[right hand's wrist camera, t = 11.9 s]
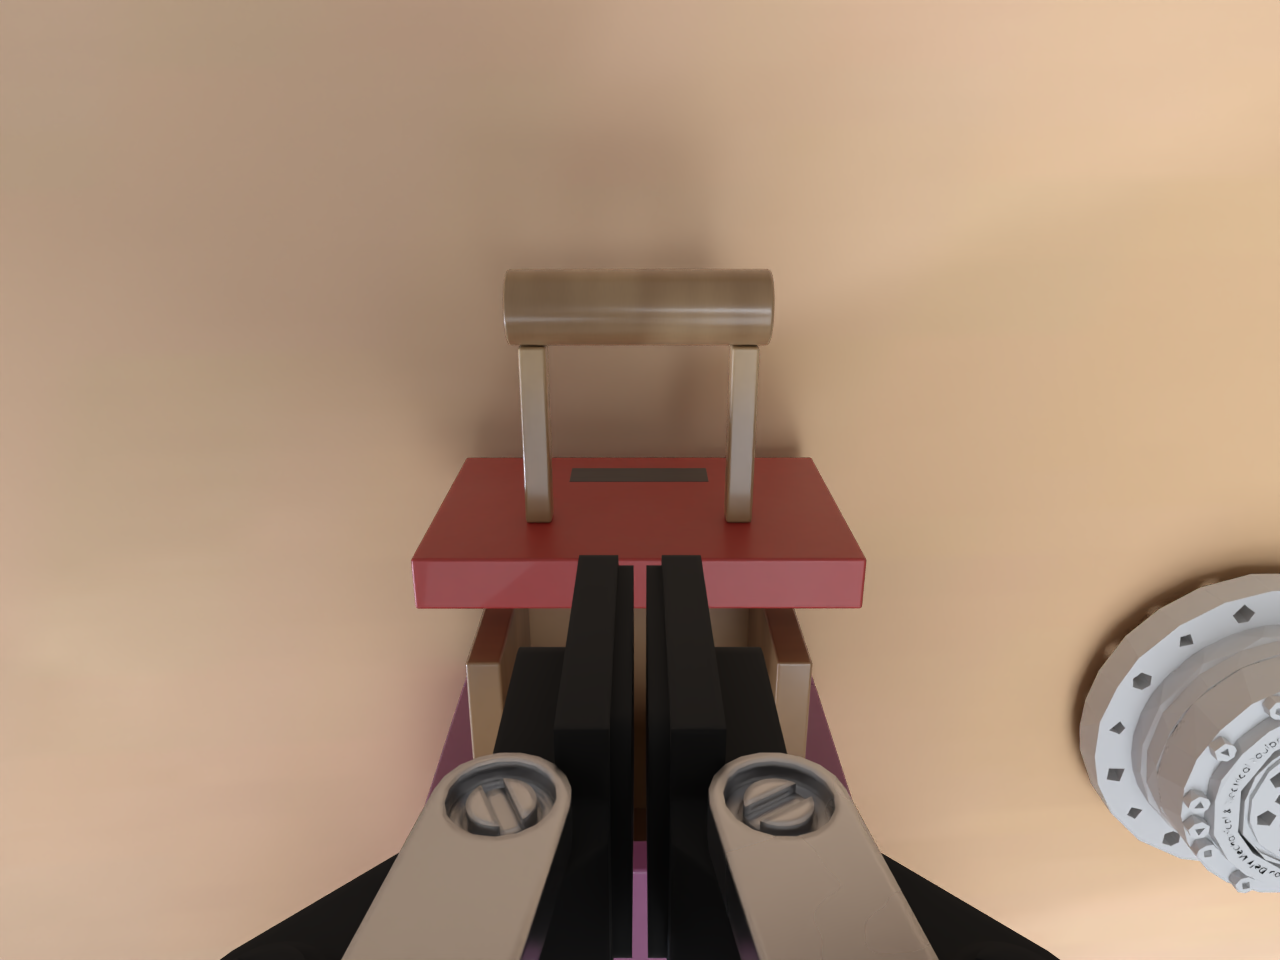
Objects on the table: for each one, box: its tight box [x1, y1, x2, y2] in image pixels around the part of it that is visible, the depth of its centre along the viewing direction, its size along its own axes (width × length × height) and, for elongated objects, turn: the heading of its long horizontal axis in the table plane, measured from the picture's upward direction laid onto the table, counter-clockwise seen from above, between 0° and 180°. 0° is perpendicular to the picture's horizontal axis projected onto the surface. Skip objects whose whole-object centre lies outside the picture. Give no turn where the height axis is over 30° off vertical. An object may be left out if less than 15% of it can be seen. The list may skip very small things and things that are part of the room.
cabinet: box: [425, 675, 852, 960], centre depth 27 cm, size 13×11×9 cm
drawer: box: [411, 269, 866, 841], centre depth 23 cm, size 18×10×7 cm, turn 0°
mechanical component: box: [1080, 574, 1280, 893], centre depth 27 cm, size 10×4×10 cm
